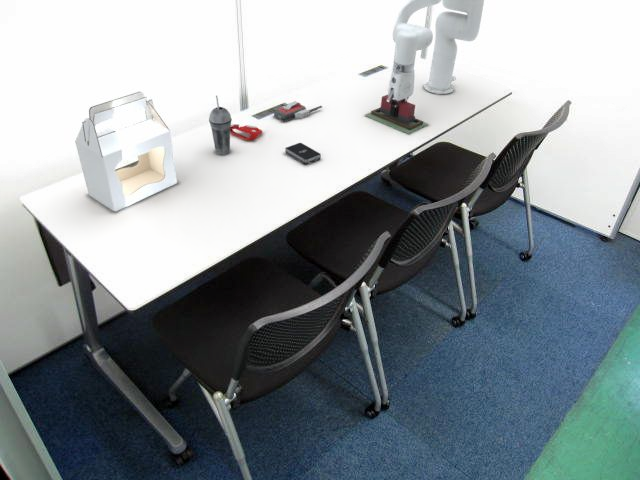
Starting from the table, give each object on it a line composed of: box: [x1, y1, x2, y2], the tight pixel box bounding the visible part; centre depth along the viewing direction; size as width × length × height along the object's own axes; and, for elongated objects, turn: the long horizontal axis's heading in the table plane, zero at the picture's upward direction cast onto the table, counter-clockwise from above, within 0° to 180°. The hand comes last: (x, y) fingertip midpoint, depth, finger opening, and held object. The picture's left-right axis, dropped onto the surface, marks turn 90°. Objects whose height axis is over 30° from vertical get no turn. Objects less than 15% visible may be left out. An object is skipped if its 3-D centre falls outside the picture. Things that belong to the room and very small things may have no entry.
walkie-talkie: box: [273, 100, 323, 122], centre depth 208 cm, size 9×4×20 cm
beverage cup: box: [208, 95, 233, 156], centre depth 176 cm, size 7×7×20 cm
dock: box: [365, 107, 429, 135], centre depth 207 cm, size 12×21×2 cm, turn 45°
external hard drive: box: [284, 142, 322, 165], centre depth 181 cm, size 7×11×2 cm, turn 42°
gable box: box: [74, 91, 178, 213], centre depth 153 cm, size 22×13×28 cm, turn 140°
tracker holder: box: [230, 123, 263, 141], centre depth 191 cm, size 12×4×10 cm
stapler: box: [379, 94, 416, 123], centre depth 205 cm, size 14×4×6 cm, turn 45°
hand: (397, 114), depth 206 cm, fingers closed on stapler, 3 cm apart
